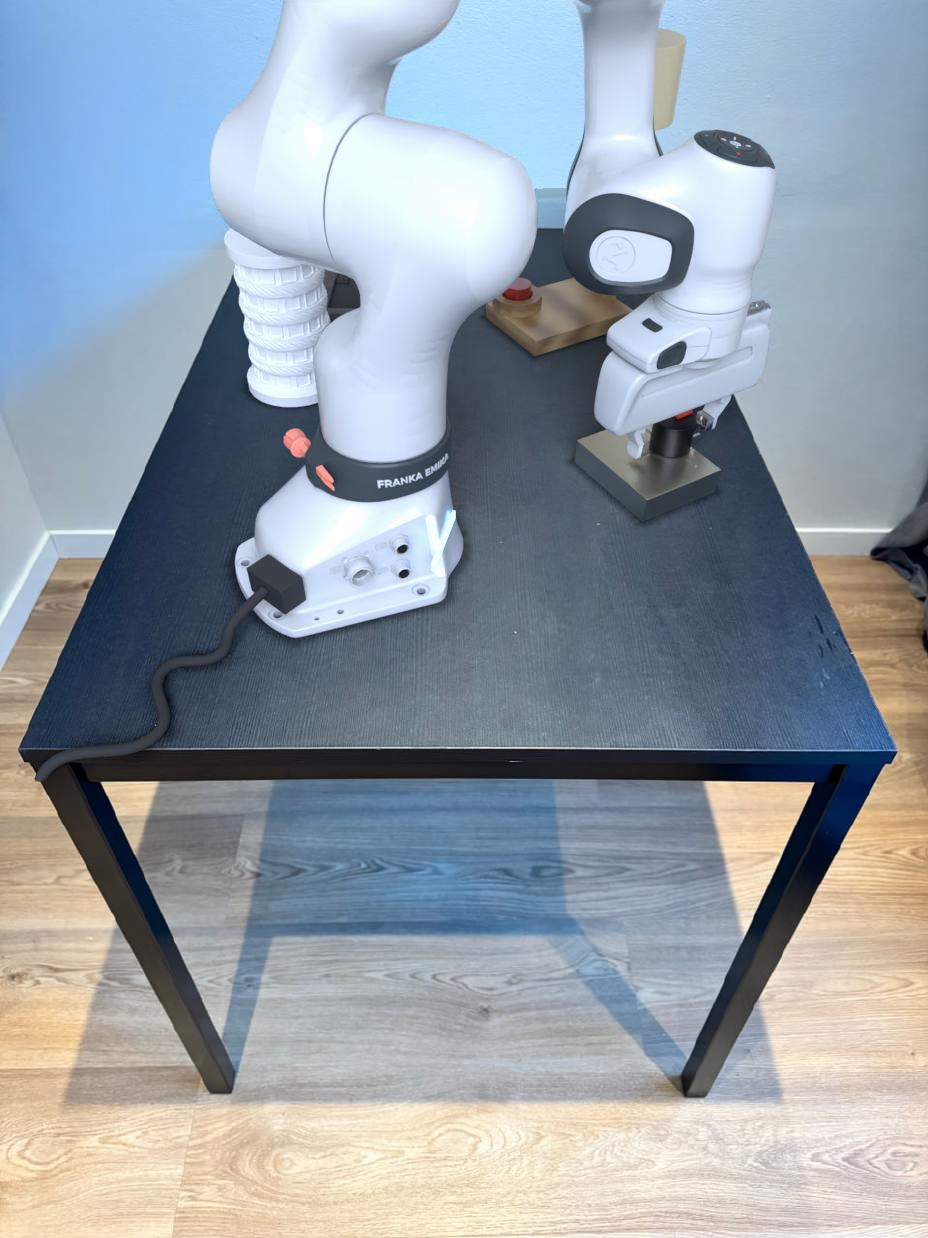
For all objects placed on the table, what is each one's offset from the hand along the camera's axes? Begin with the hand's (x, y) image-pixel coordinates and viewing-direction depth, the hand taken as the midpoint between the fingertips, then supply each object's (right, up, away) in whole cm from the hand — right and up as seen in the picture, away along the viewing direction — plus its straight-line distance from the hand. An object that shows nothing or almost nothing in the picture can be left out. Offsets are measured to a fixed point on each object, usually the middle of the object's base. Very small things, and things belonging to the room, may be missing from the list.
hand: (671, 440), depth 94 cm
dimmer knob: (0, 0, 0) cm, 1 cm away
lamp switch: (-15, +24, +23) cm, 36 cm away
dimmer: (-2, -3, +2) cm, 4 cm away
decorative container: (-43, +10, +14) cm, 47 cm away
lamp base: (-9, +21, +25) cm, 34 cm away
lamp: (-3, +24, +22) cm, 32 cm away
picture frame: (-34, +28, +31) cm, 54 cm away
